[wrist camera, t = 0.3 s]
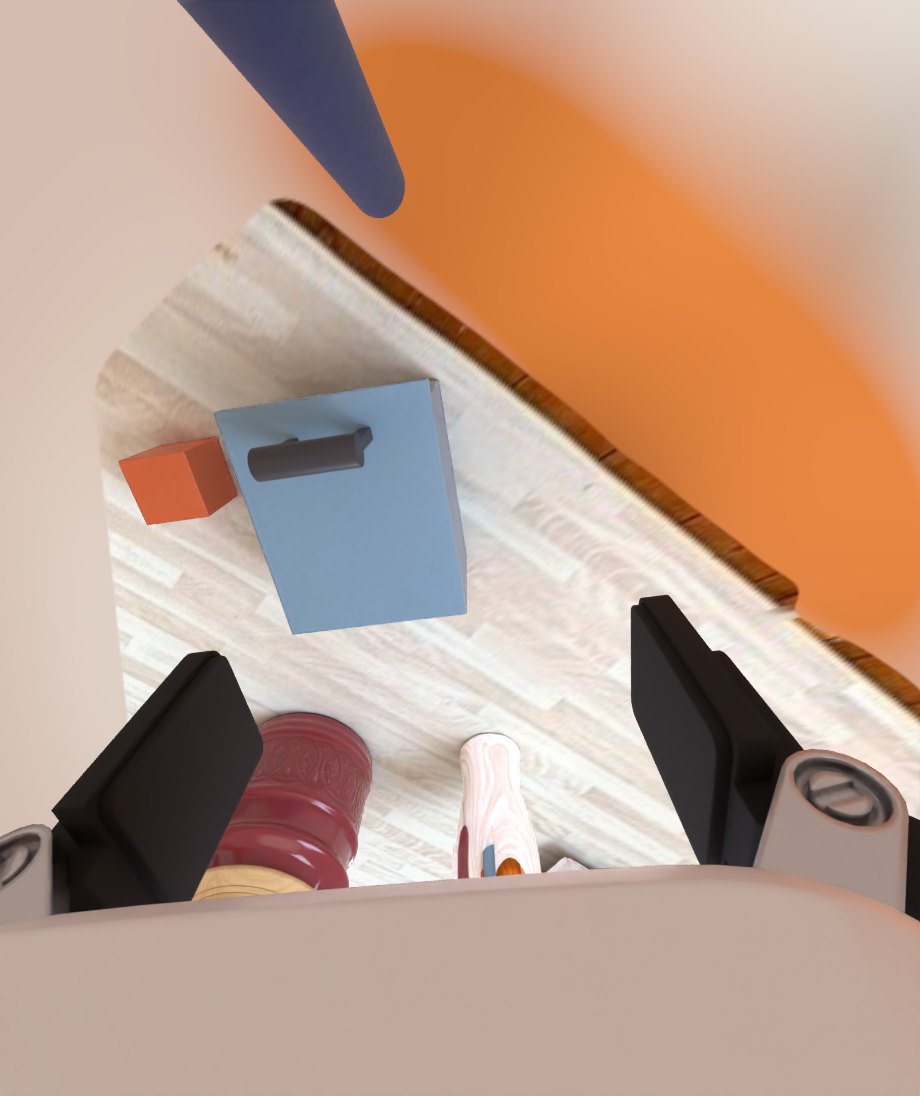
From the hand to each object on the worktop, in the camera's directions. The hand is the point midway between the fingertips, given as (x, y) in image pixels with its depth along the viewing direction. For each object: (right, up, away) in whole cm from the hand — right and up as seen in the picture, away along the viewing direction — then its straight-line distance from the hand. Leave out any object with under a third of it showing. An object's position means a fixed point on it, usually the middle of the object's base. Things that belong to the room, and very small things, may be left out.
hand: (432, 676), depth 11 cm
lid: (-6, +5, +17) cm, 19 cm away
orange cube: (-19, +9, +24) cm, 32 cm away
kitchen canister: (-15, -18, +37) cm, 44 cm away
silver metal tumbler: (+4, -18, +37) cm, 41 cm away
